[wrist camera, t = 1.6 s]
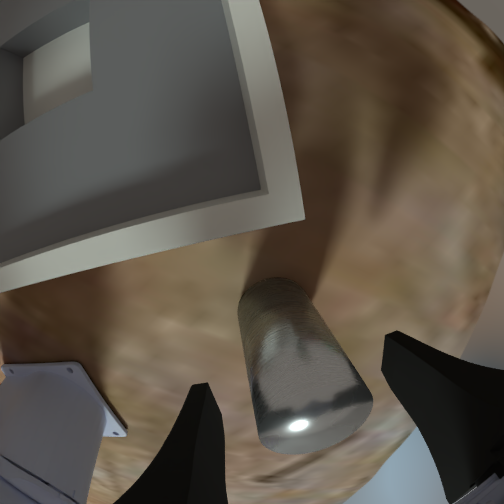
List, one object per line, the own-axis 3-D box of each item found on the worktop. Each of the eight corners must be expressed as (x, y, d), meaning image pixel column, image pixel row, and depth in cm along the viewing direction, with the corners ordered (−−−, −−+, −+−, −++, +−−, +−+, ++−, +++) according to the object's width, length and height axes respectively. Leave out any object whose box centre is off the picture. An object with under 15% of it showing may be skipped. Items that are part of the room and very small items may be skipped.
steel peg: (245, 346, 16) (268, 462, 8) (230, 287, 15) (246, 404, 7) (311, 330, 16) (367, 433, 9) (304, 270, 15) (378, 365, 7)
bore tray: (-2, 273, 12) (-47, 306, 8) (-23, 40, 7) (-62, 27, 2) (273, 199, 13) (305, 219, 9) (213, -66, 8) (216, -114, 3)
